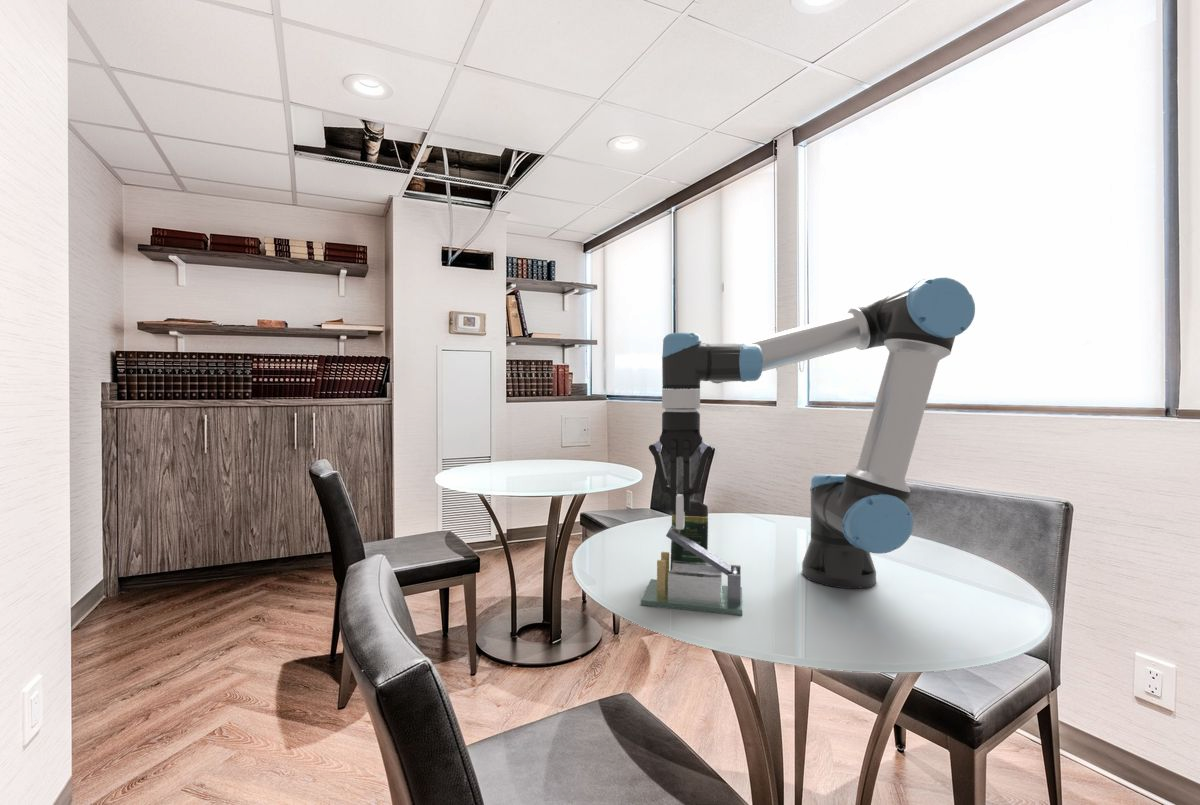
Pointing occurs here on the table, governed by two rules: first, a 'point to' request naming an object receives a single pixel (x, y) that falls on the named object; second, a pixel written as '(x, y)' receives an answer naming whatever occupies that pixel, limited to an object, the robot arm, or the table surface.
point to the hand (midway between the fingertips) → (680, 527)
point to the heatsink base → (694, 587)
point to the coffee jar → (691, 532)
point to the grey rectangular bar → (698, 550)
